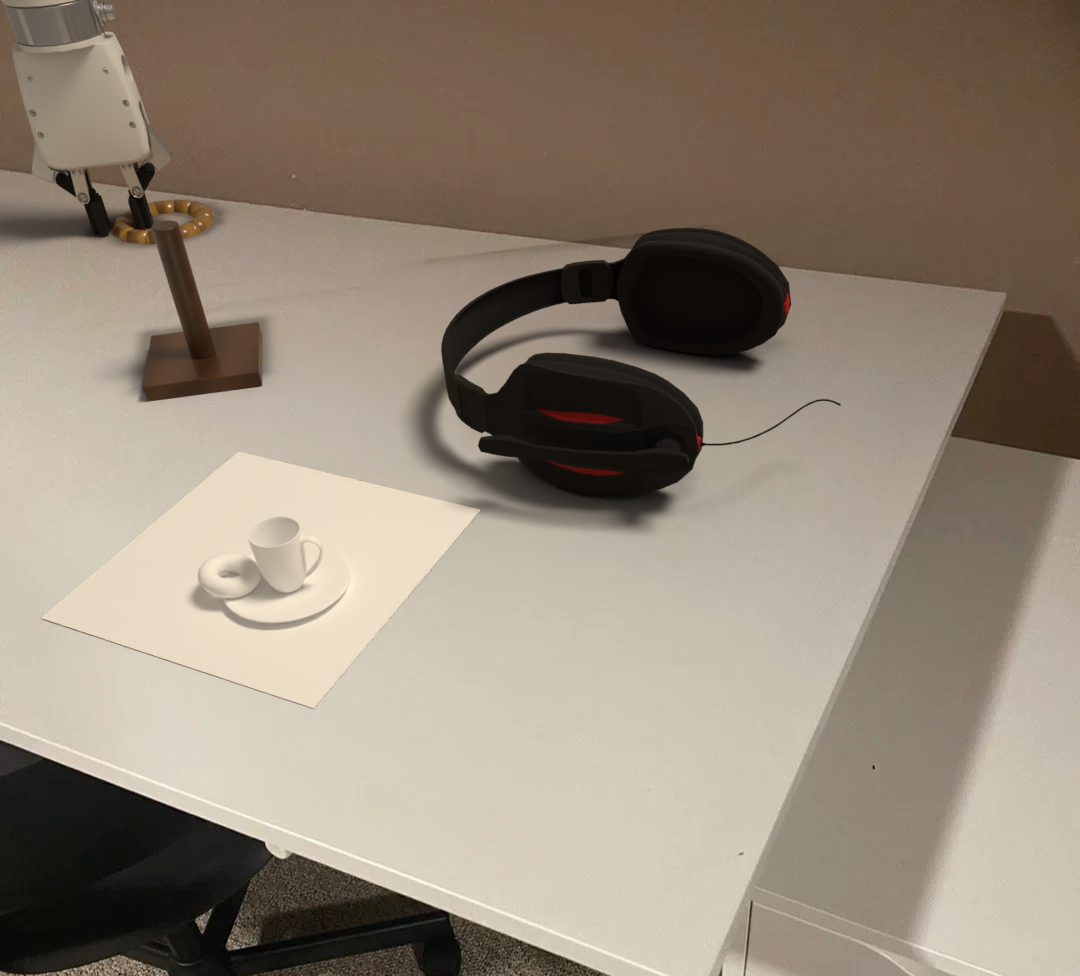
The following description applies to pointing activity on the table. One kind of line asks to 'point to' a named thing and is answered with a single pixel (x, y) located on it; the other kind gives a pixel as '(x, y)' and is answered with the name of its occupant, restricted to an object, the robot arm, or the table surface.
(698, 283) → the headset
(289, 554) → the teacup and saucer
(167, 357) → the rack
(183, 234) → the ring
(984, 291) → the table surface
